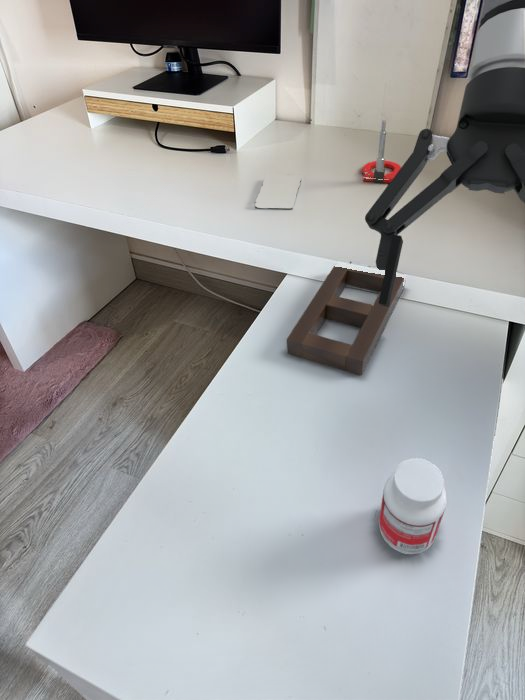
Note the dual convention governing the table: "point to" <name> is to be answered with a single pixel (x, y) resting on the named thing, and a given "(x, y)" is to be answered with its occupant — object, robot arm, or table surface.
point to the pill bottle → (412, 506)
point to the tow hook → (381, 163)
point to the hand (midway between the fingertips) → (457, 318)
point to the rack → (343, 321)
